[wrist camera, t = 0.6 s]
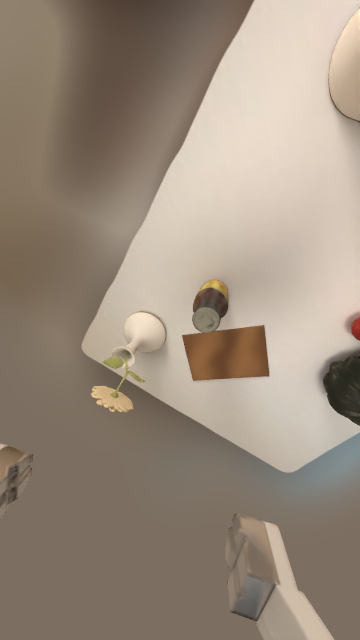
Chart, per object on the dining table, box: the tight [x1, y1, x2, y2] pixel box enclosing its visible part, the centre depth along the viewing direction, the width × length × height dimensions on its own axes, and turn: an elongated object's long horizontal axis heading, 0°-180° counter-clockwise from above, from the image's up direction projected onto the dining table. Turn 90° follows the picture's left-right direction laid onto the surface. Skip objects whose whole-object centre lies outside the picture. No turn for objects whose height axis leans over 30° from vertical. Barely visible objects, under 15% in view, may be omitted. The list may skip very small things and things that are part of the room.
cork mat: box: [182, 325, 269, 380], centre depth 53 cm, size 20×14×1 cm
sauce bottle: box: [192, 280, 228, 333], centre depth 39 cm, size 6×6×20 cm
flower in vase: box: [91, 312, 165, 412], centre depth 44 cm, size 13×11×25 cm
